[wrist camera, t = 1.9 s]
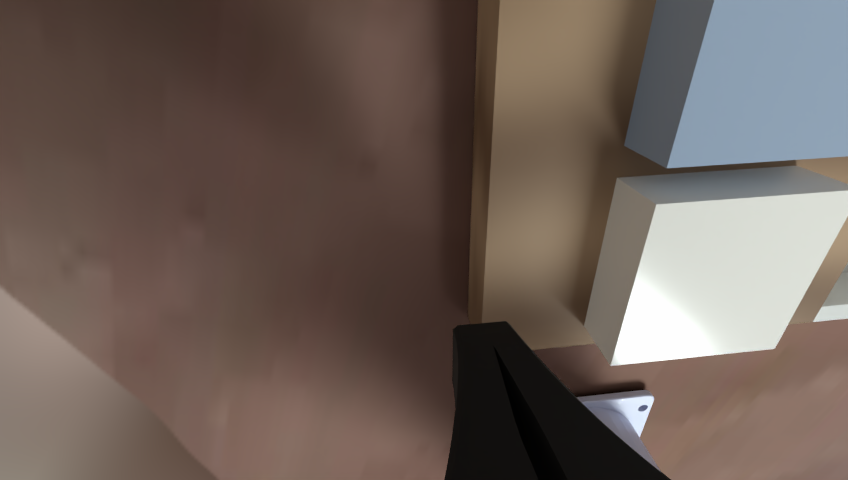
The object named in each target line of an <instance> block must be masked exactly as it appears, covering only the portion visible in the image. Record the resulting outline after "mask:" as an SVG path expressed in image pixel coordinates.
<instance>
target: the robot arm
mask: <svg viewBox="0 0 848 480" xmlns="http://www.w3.org/2000/svg"><path fill="white" fill-rule="evenodd" d="M452 381H453V388H454V396H455V407H456V410H455V418H454V426H453V434H452V441H451V447H450V453H449V459H448V464H447V470H446V475H445V480H671V479H669V478H668V477H667V476H666V475H664V474H663V473H662V472H661V471H660V469H659V468H658V466H657V465H656V463H655V461H654V460H653V458H652V457H651V455H650V453H649V452H648V450H647V449H646V447H645V445H644V444H643V442H642V441H641V439H640V435H641V432H642V430H643V427H644V424H645V422H646V419H647V417H648V414H649V411H650V409H651V406H652V404H653V401H654V397H653V395H652V394H651V393H650V391H648V390H637V391H628V392H619V393H610V394H601V395H592V396H583V397H576V396H575V395H574V394H573V393H572V392H571V391H570V390H569V389H568V388H567V387H566V386H565V385H564V384H563V383H562V382H561V381H560V380H559V379H558V378H557V377H556V376H555V375H554V374H553V373H552V372H551V371H550V370H549V368H548V367H547V366H546V365H545V364H544V363H543V362H542V361H541V360H540V359H539V358H538V356H537V355H536V354H535V353H534V352H533V351H532V350H531V349H530V347H529V346H528V345H527V344H526V343H525V342H524V340H523V339H522V338H521V337H520V336H519V335H518V333H517V332H516V331H515V330H514V329H513V327H512V326H511V325H510V324H509V323H508V322H507V321H500V322H490V323H479V324H469V325H458V326H457V327H455V328H454V329H453V377H452Z"/></svg>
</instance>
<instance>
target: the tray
mask: <svg viewBox="0 0 848 480" xmlns="http://www.w3.org/2000/svg"><path fill="white" fill-rule="evenodd" d="M847 318H848V263H847V265H846V266H845V268H844V270H843V271H842V273H841V275H840V277H839V278H838V280H837V282H836V283H835V285H834V287H833V288H832V290H831V292H830V293H829V295H828V297H827V299H826V300H825V302H824V304H823V305H822V307H821V309H820V310H819V312H818V314H817V316H816V317H815V319H814V321H813V322H817V321H827V320H837V319H847Z"/></svg>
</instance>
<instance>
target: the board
mask: <svg viewBox="0 0 848 480" xmlns="http://www.w3.org/2000/svg"><path fill="white" fill-rule="evenodd" d="M655 4H656V0H478V16H477V47H476V77H475V108H474V139H473V169H472V200H471V230H470V261H469V291H468V317H469V321H470V324H479V323H490V322H500V321H507V322H508V323H509V324H510V325H511V326H512V327H513V329H514V330H515V331H516V332H517V333H518V335H519V336H520V337H521V338H522V339H523V340H524V342H525V343H526V344H527V345H528V346H529V347H530V349H531V350H538V349H548V348H558V347H568V346H578V345H588V344H596V343H595V342H594V340H593V339H592V337H591V336H590V334H589V333H588V331H587V330H586V328H585V327H584V324H585V319H586V315H587V310H588V306H589V301H590V297H591V292H592V288H593V283H594V279H595V274H596V270H597V265H598V261H599V256H600V252H601V247H602V243H603V238H604V234H605V229H606V225H607V220H608V216H609V211H610V207H611V202H612V198H613V193H614V189H615V184H616V180H617V178H620V177H634V176H649V175H664V174H679V173H694V172H708V171H723V170H738V169H753V168H768V167H783V166H799V167H802V168H805V169H808V170H810V171H813V172H816V173H819V174H821V175H824V176H827V177H830V178H833V179H835V180H838V181H841V182H844V183H846V184H848V156H846V157H831V158H816V159H801V160H785V161H770V162H755V163H740V164H725V165H710V166H695V167H680V168H665V167H663V166H661V165H659V164H657V163H656V162H654V161H652V160H650V159H648V158H646V157H644V156H642V155H641V154H639V153H637V152H635V151H633V150H631V149H629V148H627V147H626V146H624V144H625V139H626V135H627V130H628V126H629V121H630V117H631V112H632V108H633V103H634V99H635V94H636V90H637V85H638V81H639V76H640V72H641V67H642V63H643V58H644V54H645V49H646V45H647V40H648V36H649V31H650V27H651V22H652V18H653V13H654V9H655ZM847 263H848V217H847V219H846V220H845V222H844V224H843V226H842V228H841V229H840V231H839V233H838V235H837V237H836V238H835V240H834V242H833V244H832V246H831V247H830V249H829V251H828V253H827V255H826V257H825V258H824V260H823V262H822V264H821V266H820V267H819V269H818V271H817V273H816V275H815V276H814V278H813V280H812V282H811V284H810V285H809V287H808V289H807V291H806V293H805V295H804V296H803V298H802V300H801V302H800V304H799V305H798V307H797V309H796V311H795V313H794V314H793V316H792V318H791V320H790V322H789V323H788V324H797V323H807V322H813V321H814V319H815V317H816V316H817V314H818V312H819V310H820V309H821V307H822V305H823V304H824V302H825V300H826V299H827V297H828V295H829V293H830V292H831V290H832V288H833V287H834V285H835V283H836V282H837V280H838V278H839V277H840V275H841V273H842V271H843V270H844V268H845V266H846V265H847Z"/></svg>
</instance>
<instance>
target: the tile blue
mask: <svg viewBox="0 0 848 480" xmlns="http://www.w3.org/2000/svg"><path fill="white" fill-rule="evenodd" d="M624 146H626V147H627V148H629V149H631V150H633V151H635V152H637V153H639V154H641V155H642V156H644V157H646V158H648V159H650V160H652V161H654V162H656V163H657V164H659V165H661V166H663V167H665V168H680V167H695V166H710V165H725V164H740V163H755V162H770V161H785V160H801V159H816V158H831V157H846V156H848V0H656V4H655V9H654V13H653V18H652V22H651V27H650V31H649V36H648V40H647V45H646V49H645V54H644V58H643V63H642V67H641V72H640V76H639V81H638V85H637V90H636V94H635V99H634V103H633V108H632V112H631V117H630V121H629V126H628V130H627V135H626V139H625V144H624Z"/></svg>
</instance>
